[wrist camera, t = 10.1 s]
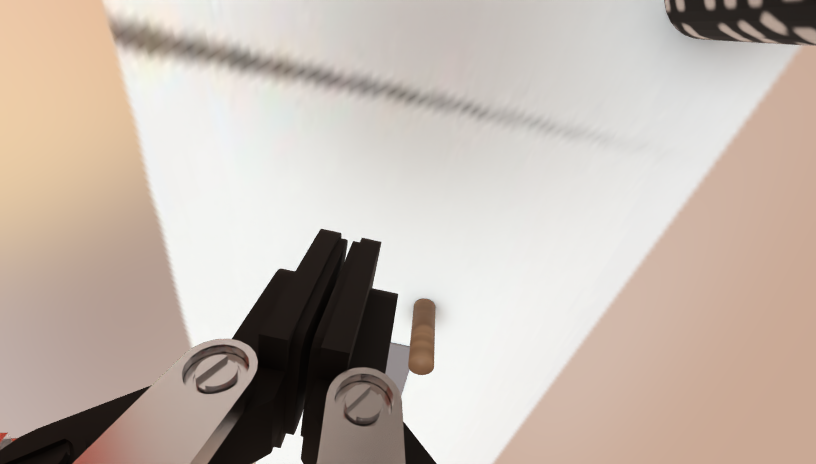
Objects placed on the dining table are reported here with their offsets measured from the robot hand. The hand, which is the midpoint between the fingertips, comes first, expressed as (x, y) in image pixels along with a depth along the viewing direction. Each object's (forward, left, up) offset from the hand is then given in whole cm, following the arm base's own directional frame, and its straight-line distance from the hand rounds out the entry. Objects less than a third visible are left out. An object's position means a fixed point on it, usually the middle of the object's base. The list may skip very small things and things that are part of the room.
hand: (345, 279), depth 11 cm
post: (+23, +7, -27) cm, 36 cm away
